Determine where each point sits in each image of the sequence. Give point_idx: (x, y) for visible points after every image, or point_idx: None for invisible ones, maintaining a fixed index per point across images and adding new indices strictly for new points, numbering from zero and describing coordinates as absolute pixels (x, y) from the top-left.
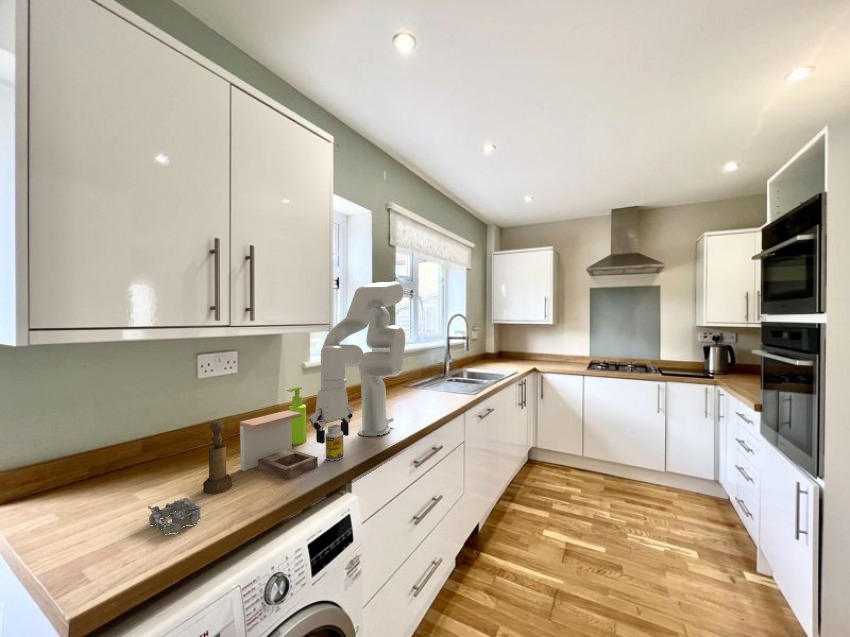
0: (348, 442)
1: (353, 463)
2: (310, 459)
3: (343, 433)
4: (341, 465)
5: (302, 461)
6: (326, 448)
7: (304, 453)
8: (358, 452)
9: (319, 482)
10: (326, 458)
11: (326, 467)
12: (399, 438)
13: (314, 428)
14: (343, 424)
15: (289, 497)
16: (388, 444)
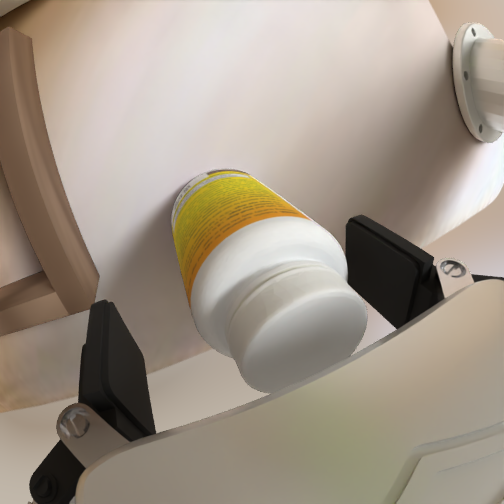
0: (390, 68)
1: None
2: (54, 313)
3: (353, 256)
4: None
5: (18, 311)
6: (177, 250)
7: (38, 194)
8: (339, 224)
9: None
10: (171, 219)
11: (134, 299)
12: (470, 206)
13: (58, 421)
14: (403, 297)
15: (11, 401)
16: (433, 228)
